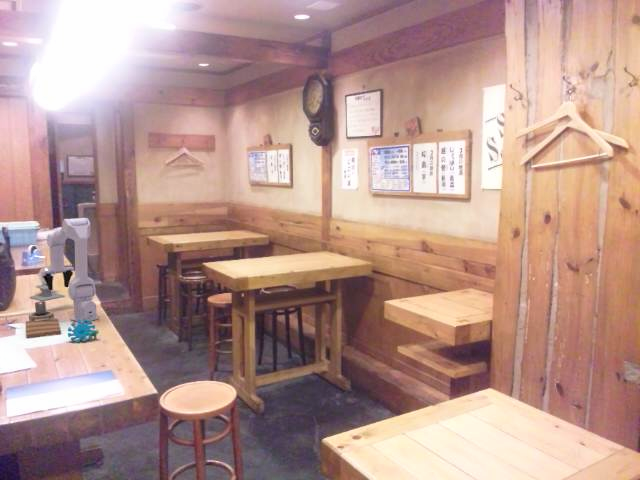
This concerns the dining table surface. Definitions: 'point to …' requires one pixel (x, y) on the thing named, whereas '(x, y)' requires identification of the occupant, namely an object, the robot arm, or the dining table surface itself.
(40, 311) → the hinge pin
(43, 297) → the shower valve
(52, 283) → the cup with straw
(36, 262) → the dining table surface
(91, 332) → the gear
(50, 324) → the brown piece
